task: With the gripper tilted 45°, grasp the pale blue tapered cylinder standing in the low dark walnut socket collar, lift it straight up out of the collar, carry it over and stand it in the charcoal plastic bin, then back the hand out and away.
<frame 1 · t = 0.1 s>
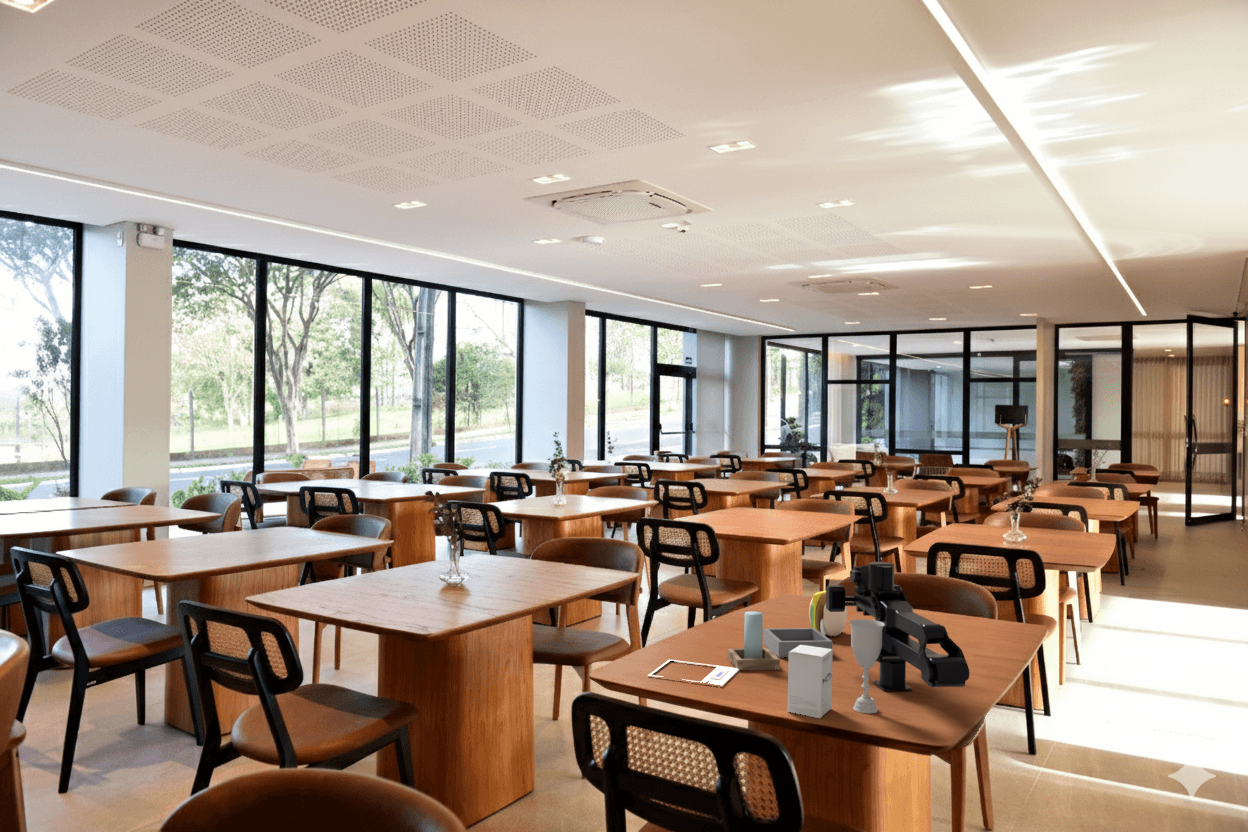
hand: (851, 591, 221), 17 cm above the table, tool horizontal, fingers open, 9 cm apart
holder: (752, 664, 213), on the table
chalice: (865, 710, 181), on the table
supplement box: (809, 711, 179), on the table
bin: (797, 650, 226), on the table
hamburger: (828, 635, 243), on the table
photo frame: (694, 676, 204), on the table
pale blue tapered cylinder: (753, 638, 213), in the holder
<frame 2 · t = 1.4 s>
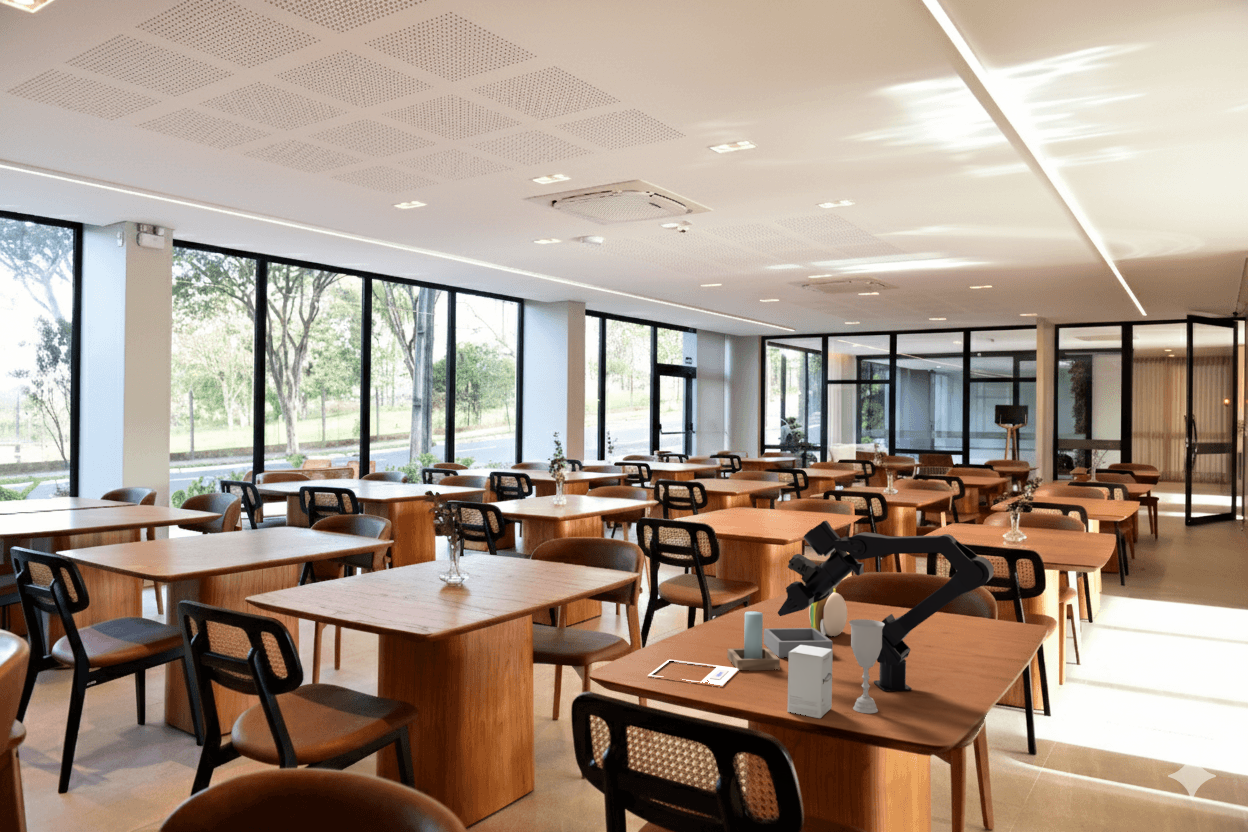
hand: (786, 611, 209), 14 cm above the table, tool tilted 45°, fingers open, 9 cm apart
nothing on the table moved.
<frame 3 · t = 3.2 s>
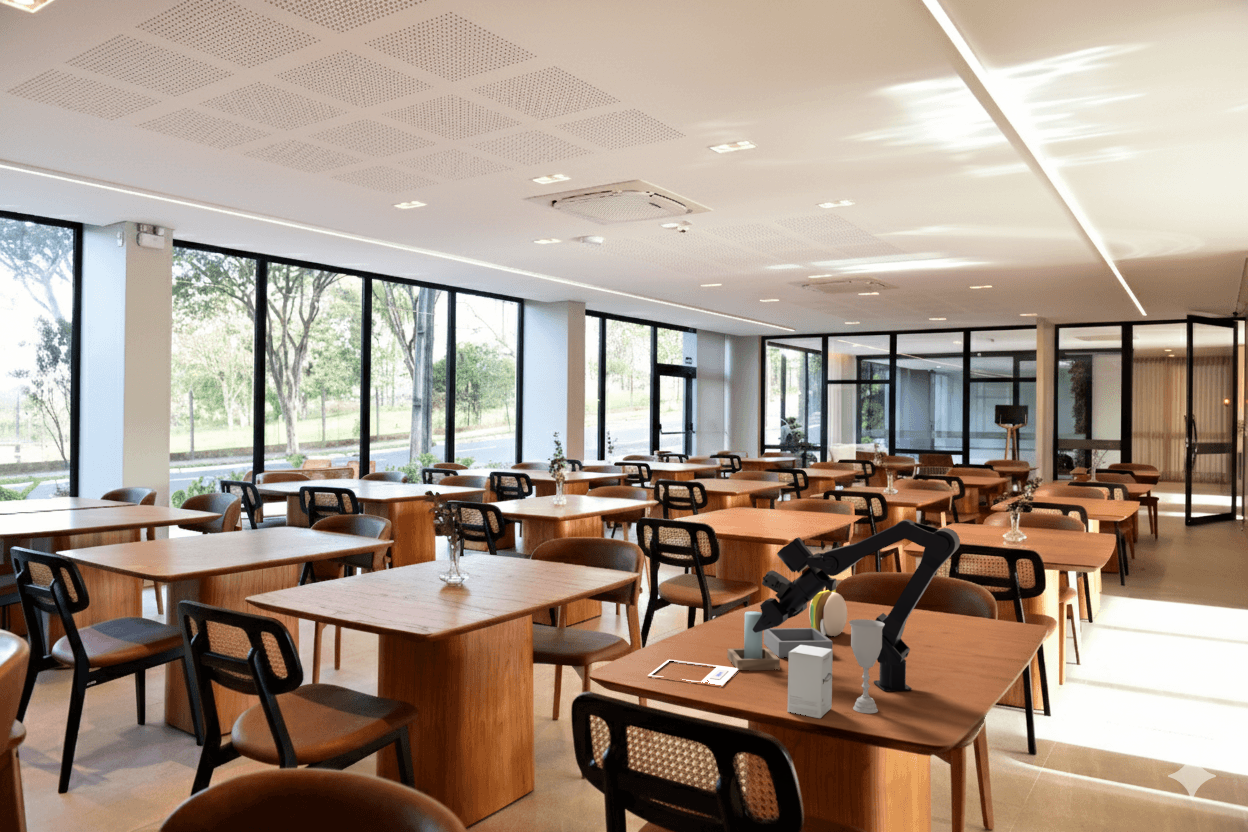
hand: (760, 627, 212), 9 cm above the table, tool tilted 45°, fingers open, 9 cm apart
nothing on the table moved.
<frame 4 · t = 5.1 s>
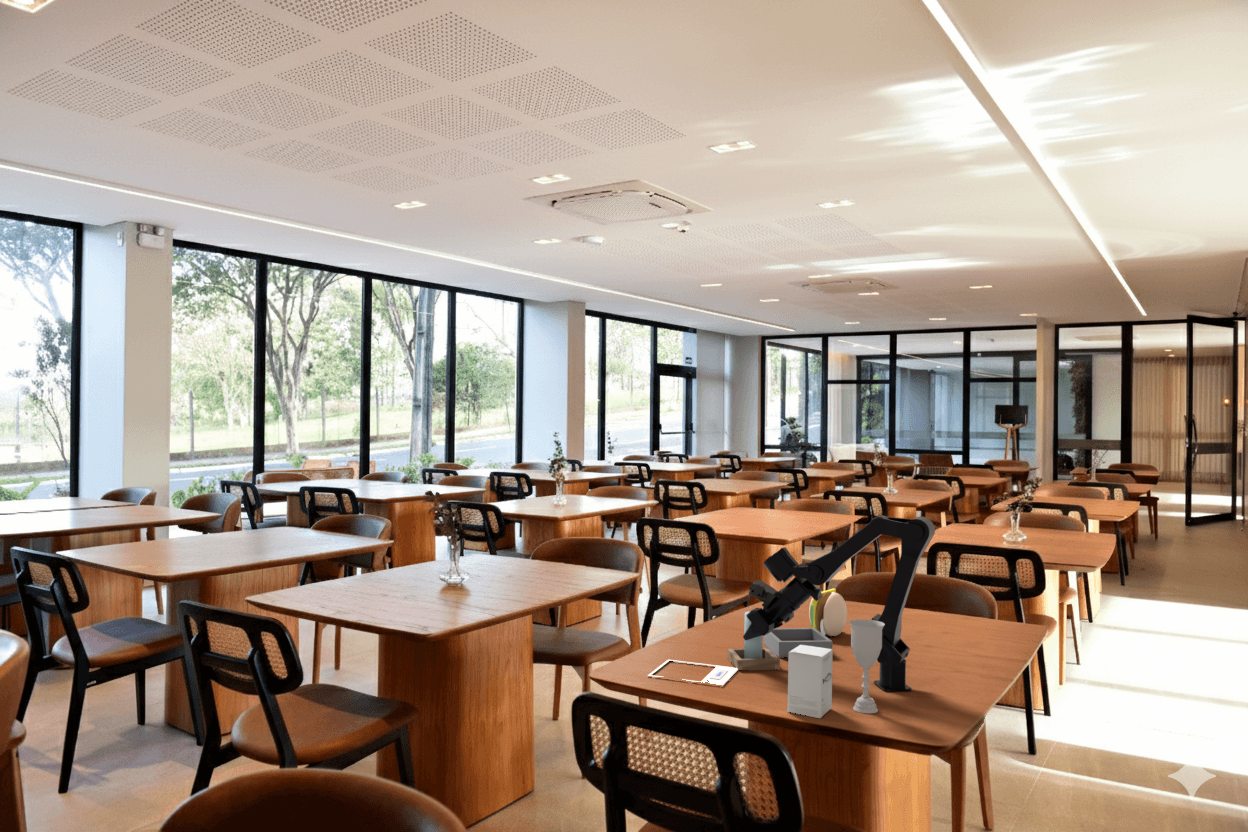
hand: (748, 636, 214), 7 cm above the table, tool tilted 45°, fingers closed on pale blue tapered cylinder, 4 cm apart
pale blue tapered cylinder: (753, 638, 213), in the holder, touching gripper
everything else where it was.
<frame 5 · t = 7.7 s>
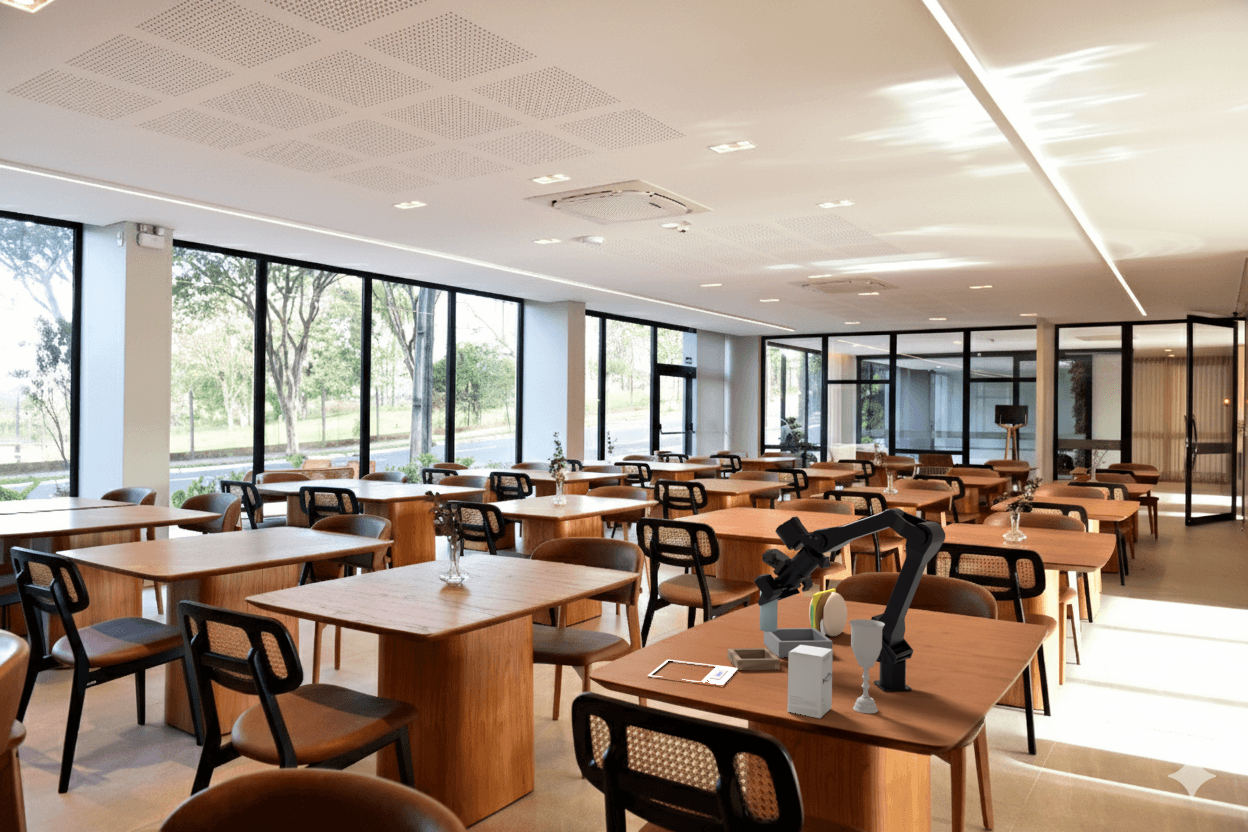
hand: (764, 602, 221), 13 cm above the table, tool tilted 45°, fingers closed on pale blue tapered cylinder, 4 cm apart
pale blue tapered cylinder: (768, 605, 220), point 13 cm above the table, touching gripper
everything else where it was.
when the fingers open (9 cm above the table, at t = 10.1 s): pale blue tapered cylinder drops 1 cm, resting on bin.
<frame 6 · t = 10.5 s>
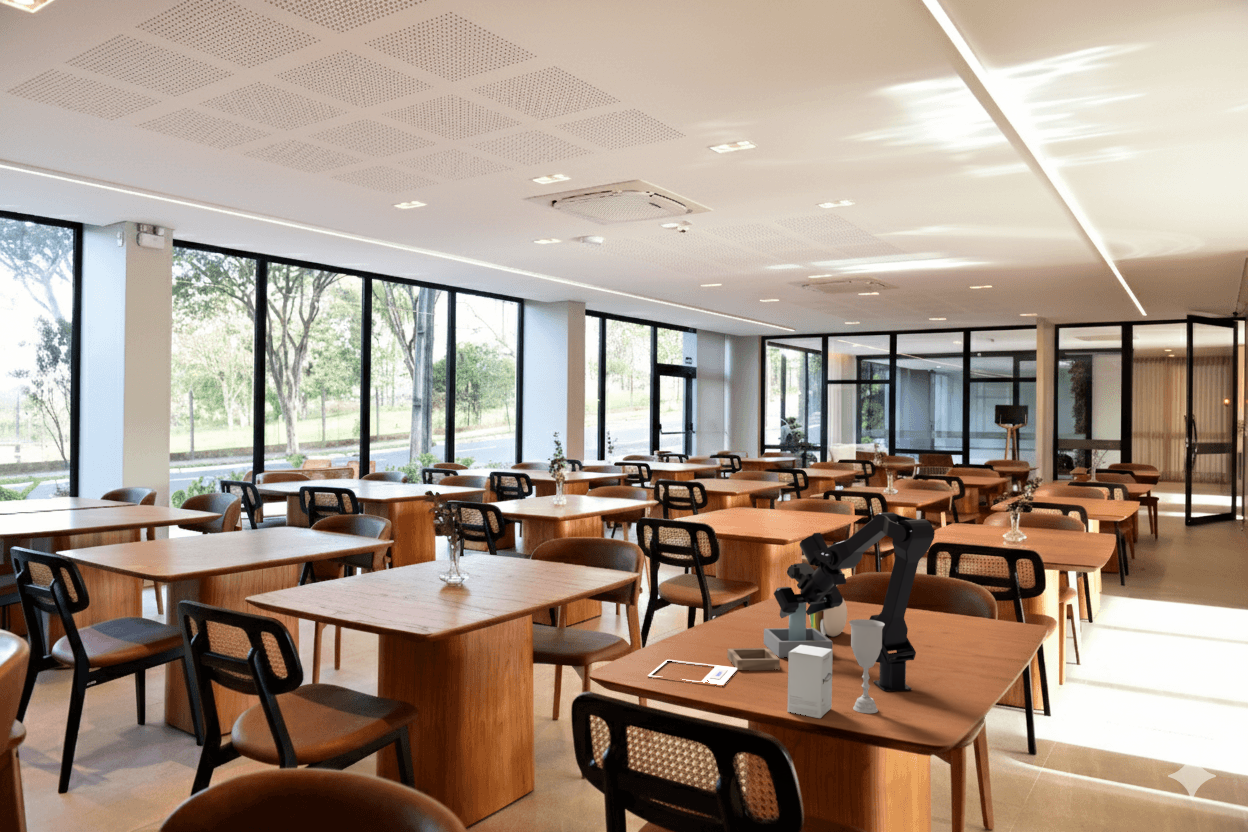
hand: (794, 615, 228), 9 cm above the table, tool tilted 45°, fingers open, 8 cm apart
pale blue tapered cylinder: (797, 622, 226), in the bin, point 7 cm above the table
everything else where it was.
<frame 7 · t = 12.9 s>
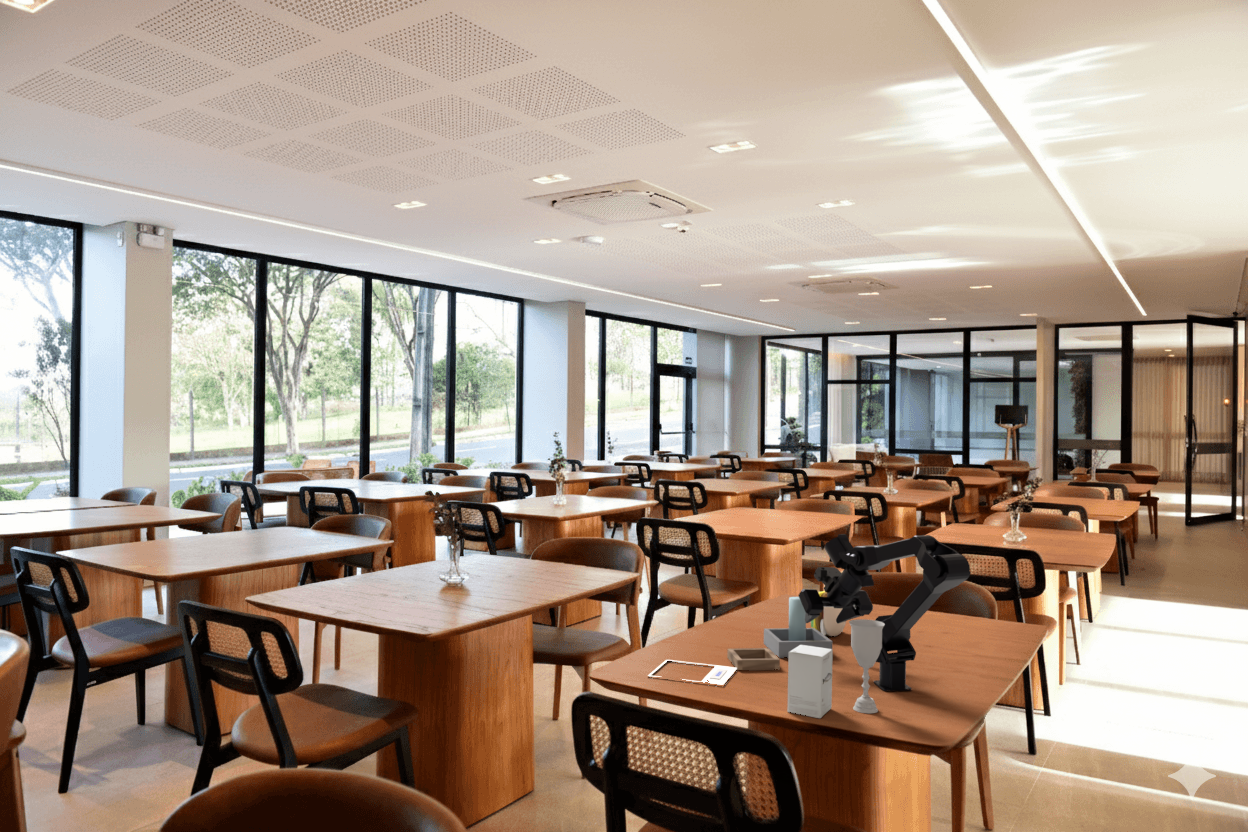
hand: (821, 621, 219), 9 cm above the table, tool tilted 40°, fingers open, 9 cm apart
nothing on the table moved.
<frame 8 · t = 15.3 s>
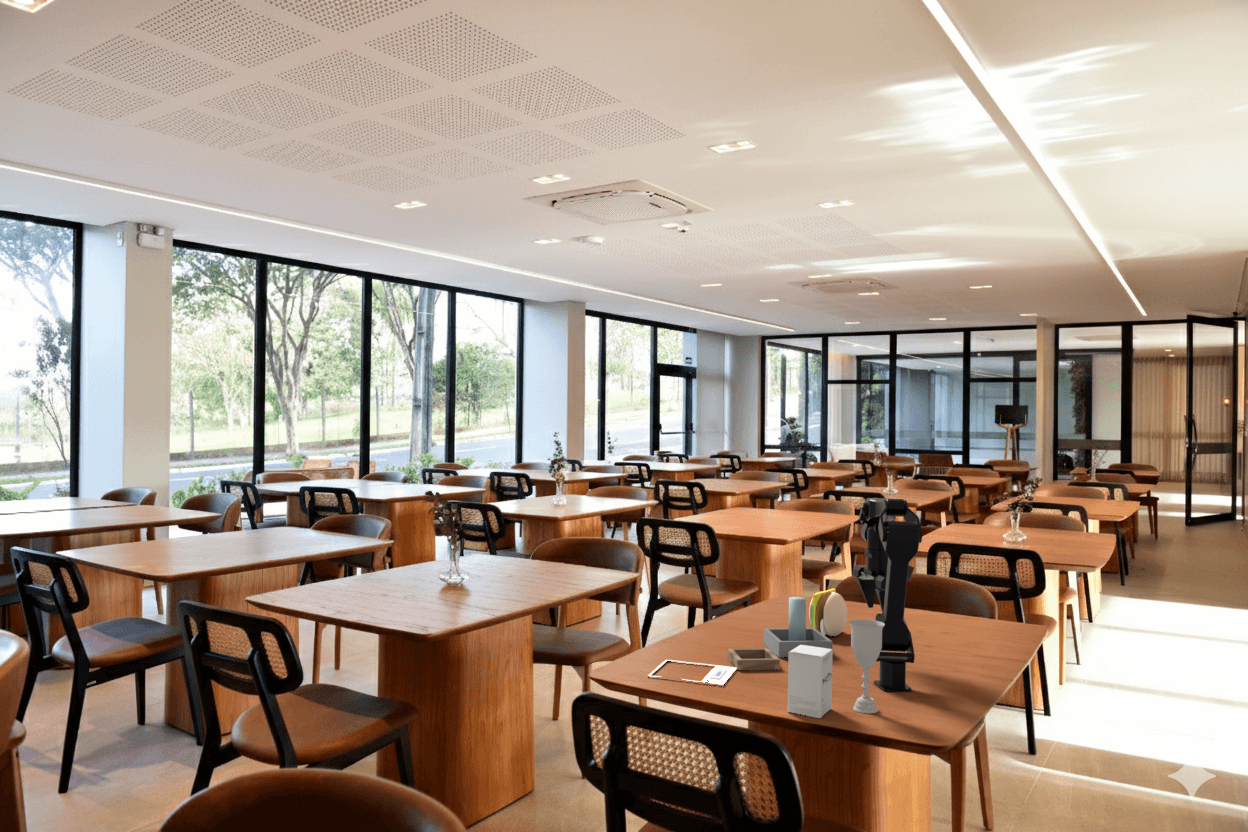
hand: (878, 611, 214), 13 cm above the table, tool pointing down, fingers open, 9 cm apart
nothing on the table moved.
at the end: pale blue tapered cylinder inside the target area on the bin (0.0 cm from its centre), point 7.3 cm above the bin's base; pale blue tapered cylinder tilted 1°; the gripper is holding nothing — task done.
